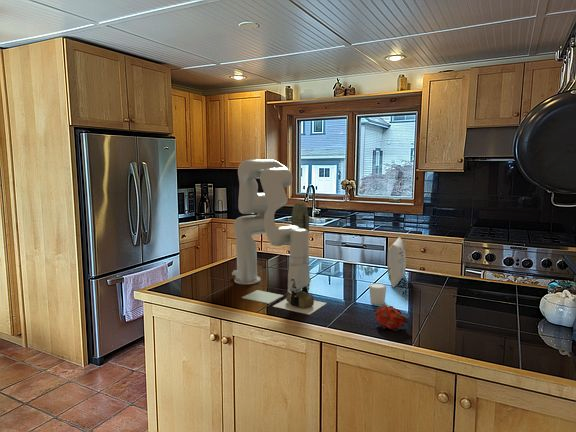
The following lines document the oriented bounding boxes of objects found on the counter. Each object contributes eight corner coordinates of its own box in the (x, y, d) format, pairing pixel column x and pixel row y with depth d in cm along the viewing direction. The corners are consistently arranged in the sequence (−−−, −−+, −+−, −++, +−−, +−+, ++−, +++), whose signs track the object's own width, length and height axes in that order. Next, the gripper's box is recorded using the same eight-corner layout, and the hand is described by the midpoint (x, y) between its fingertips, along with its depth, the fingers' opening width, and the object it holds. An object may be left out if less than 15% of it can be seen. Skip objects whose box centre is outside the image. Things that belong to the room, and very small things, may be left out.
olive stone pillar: (303, 273, 211) (303, 205, 206) (286, 269, 219) (285, 203, 214) (314, 269, 218) (314, 203, 213) (297, 266, 226) (297, 202, 221)
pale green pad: (241, 298, 176) (241, 297, 176) (257, 290, 185) (257, 290, 185) (268, 304, 168) (268, 303, 168) (283, 296, 178) (283, 295, 177)
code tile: (272, 306, 166) (272, 305, 165) (291, 296, 177) (291, 295, 177) (309, 314, 156) (309, 314, 156) (326, 303, 168) (326, 302, 168)
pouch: (409, 277, 202) (410, 237, 199) (400, 289, 185) (401, 245, 182) (392, 275, 205) (393, 236, 202) (382, 286, 189) (383, 243, 186)
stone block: (304, 310, 161) (304, 297, 160) (285, 302, 169) (284, 290, 169) (314, 306, 164) (314, 294, 164) (295, 299, 173) (295, 287, 172)
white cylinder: (386, 300, 171) (387, 283, 170) (385, 305, 165) (385, 288, 164) (370, 298, 173) (370, 282, 172) (367, 304, 167) (368, 287, 166)
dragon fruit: (372, 326, 148) (405, 339, 142) (366, 320, 142) (400, 333, 135) (381, 305, 151) (413, 316, 144) (375, 297, 144) (409, 309, 138)
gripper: (302, 254, 173) (302, 295, 176) (279, 263, 159) (280, 307, 162) (318, 256, 169) (318, 298, 172) (296, 266, 155) (296, 311, 157)
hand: (299, 302), depth 167 cm, fingers closed on stone block, 7 cm apart
